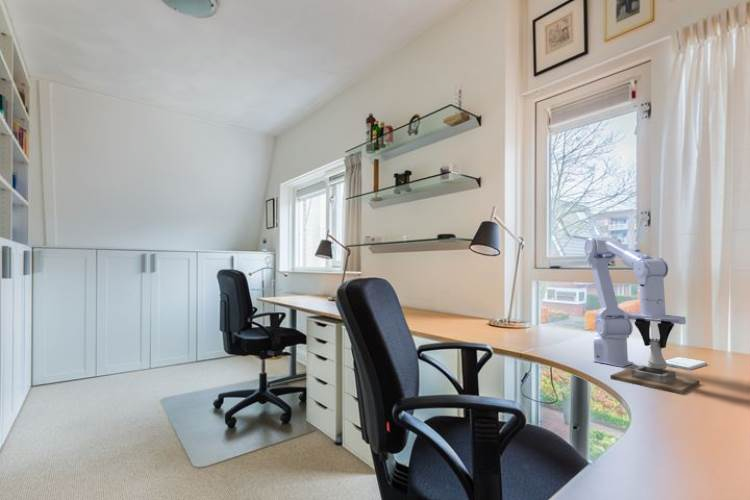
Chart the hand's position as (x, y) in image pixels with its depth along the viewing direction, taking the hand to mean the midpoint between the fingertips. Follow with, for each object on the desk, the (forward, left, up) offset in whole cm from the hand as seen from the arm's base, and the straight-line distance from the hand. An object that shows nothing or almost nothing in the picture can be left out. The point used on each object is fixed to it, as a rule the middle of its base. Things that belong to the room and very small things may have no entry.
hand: (655, 346), depth 107 cm
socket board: (-1, -1, -10) cm, 10 cm away
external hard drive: (-2, +27, -11) cm, 29 cm away
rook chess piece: (0, +1, -6) cm, 6 cm away
